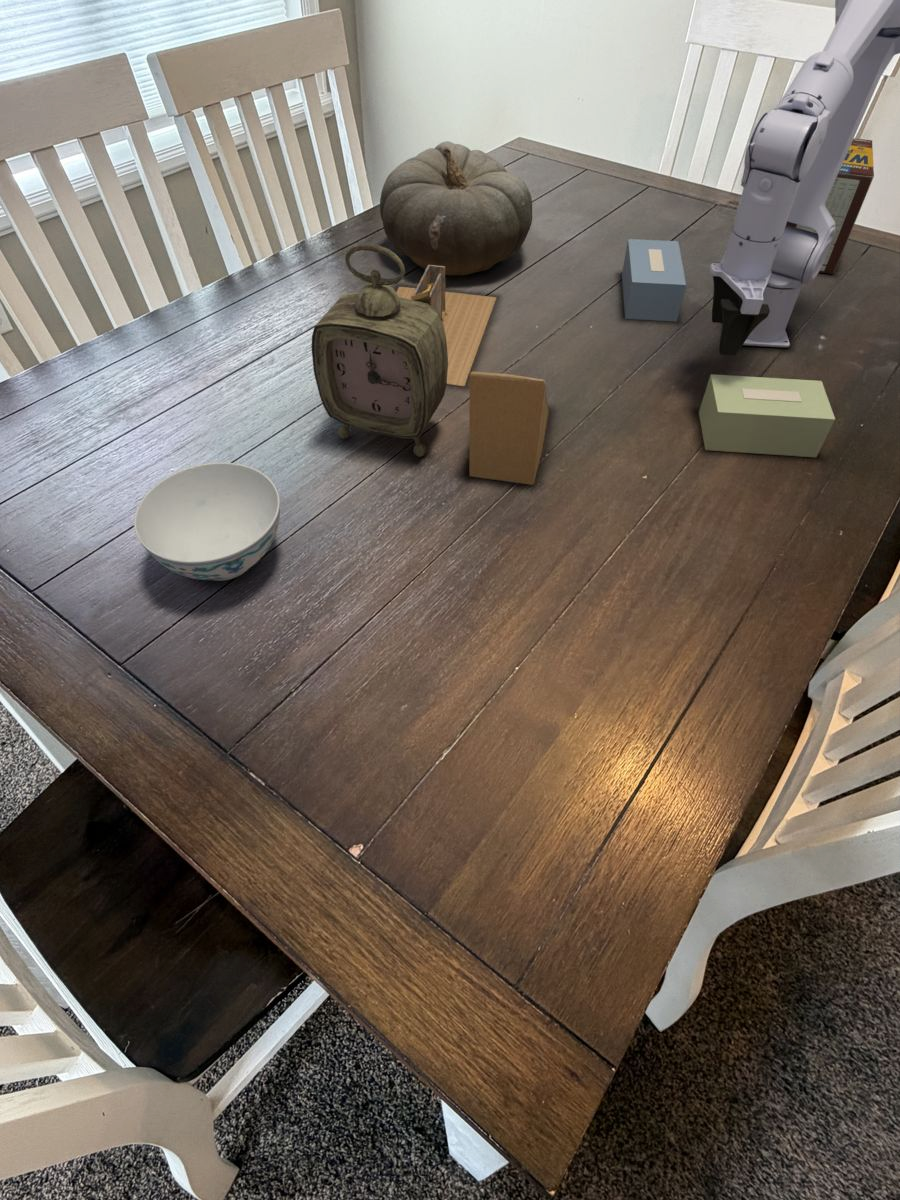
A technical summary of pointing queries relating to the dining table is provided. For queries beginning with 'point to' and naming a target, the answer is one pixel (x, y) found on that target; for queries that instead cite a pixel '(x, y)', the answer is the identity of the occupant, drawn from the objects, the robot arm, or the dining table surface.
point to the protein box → (846, 198)
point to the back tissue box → (653, 280)
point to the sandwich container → (506, 426)
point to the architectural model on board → (432, 288)
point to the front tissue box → (765, 415)
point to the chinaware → (209, 520)
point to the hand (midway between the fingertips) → (723, 337)
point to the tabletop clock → (380, 358)
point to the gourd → (455, 209)
